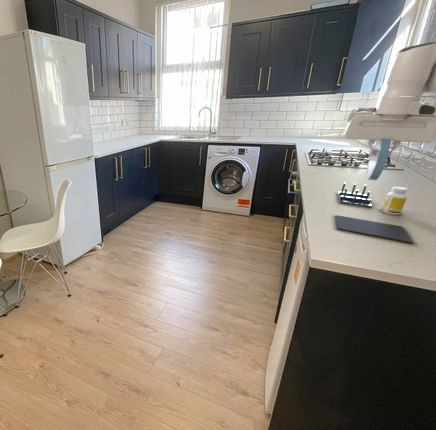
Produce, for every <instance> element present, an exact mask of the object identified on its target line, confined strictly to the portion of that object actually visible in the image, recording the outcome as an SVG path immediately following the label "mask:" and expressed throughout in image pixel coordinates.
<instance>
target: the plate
mask: <svg viewBox="0 0 436 430" xmlns="http://www.w3.org/2000/svg"><path fill="white" fill-rule="evenodd" d="M391 143H392V141H391V139H381V141H379V140H376V141H375V144H374V146H373V149H377V152H376V155H375V156H374V155H370V157H369V161H368V163H367V168H366V175H365V179H366V180H367V181H378V179H379V178H380V176H381V175H382V173H383V171H384V169H385V166H386V164H387V160H388V158H389V157H388V154H389V150H390V148H391V145H392V144H391Z"/></svg>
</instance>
